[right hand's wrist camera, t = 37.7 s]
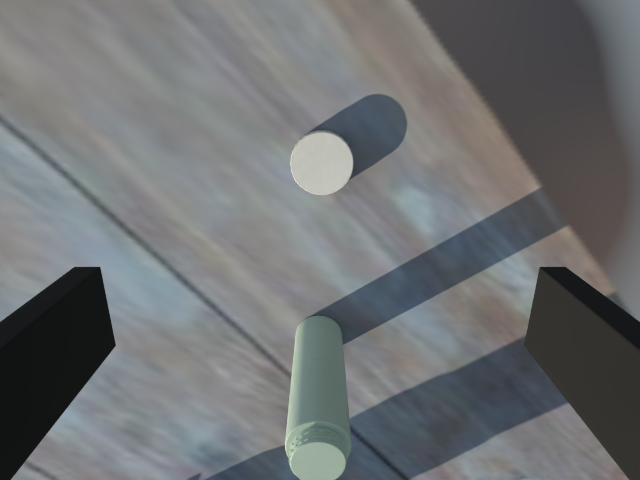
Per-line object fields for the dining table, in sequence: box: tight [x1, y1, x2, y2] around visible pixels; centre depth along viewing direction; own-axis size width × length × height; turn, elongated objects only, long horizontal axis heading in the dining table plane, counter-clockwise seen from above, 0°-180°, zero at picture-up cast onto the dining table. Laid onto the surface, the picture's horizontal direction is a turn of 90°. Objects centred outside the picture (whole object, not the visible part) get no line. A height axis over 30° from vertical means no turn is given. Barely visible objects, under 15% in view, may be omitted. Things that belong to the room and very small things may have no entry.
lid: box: [290, 129, 354, 195], centre depth 38 cm, size 6×6×2 cm
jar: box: [285, 315, 352, 480], centre depth 37 cm, size 5×5×16 cm
